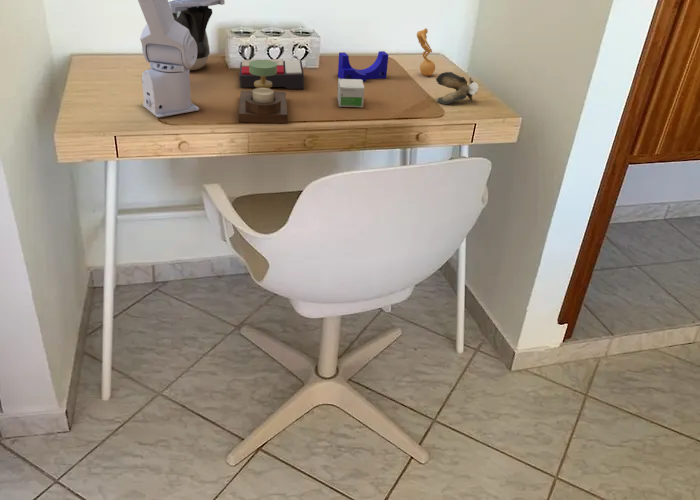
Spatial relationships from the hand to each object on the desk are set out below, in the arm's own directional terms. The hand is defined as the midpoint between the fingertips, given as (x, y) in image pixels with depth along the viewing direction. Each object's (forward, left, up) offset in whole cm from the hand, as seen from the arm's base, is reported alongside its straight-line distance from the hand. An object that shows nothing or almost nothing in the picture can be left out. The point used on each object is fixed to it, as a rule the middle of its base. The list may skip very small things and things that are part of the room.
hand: (198, 41), depth 151 cm
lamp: (+7, -16, -6) cm, 19 cm away
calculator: (+17, -4, -11) cm, 20 cm away
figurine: (+55, -17, -11) cm, 58 cm away
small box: (+25, -25, -11) cm, 37 cm away
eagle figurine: (+49, -35, -11) cm, 61 cm away
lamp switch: (+3, -23, -7) cm, 24 cm away
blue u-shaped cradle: (+39, -12, -11) cm, 42 cm away
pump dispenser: (+4, +14, -11) cm, 18 cm away
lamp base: (+5, -20, -10) cm, 23 cm away
